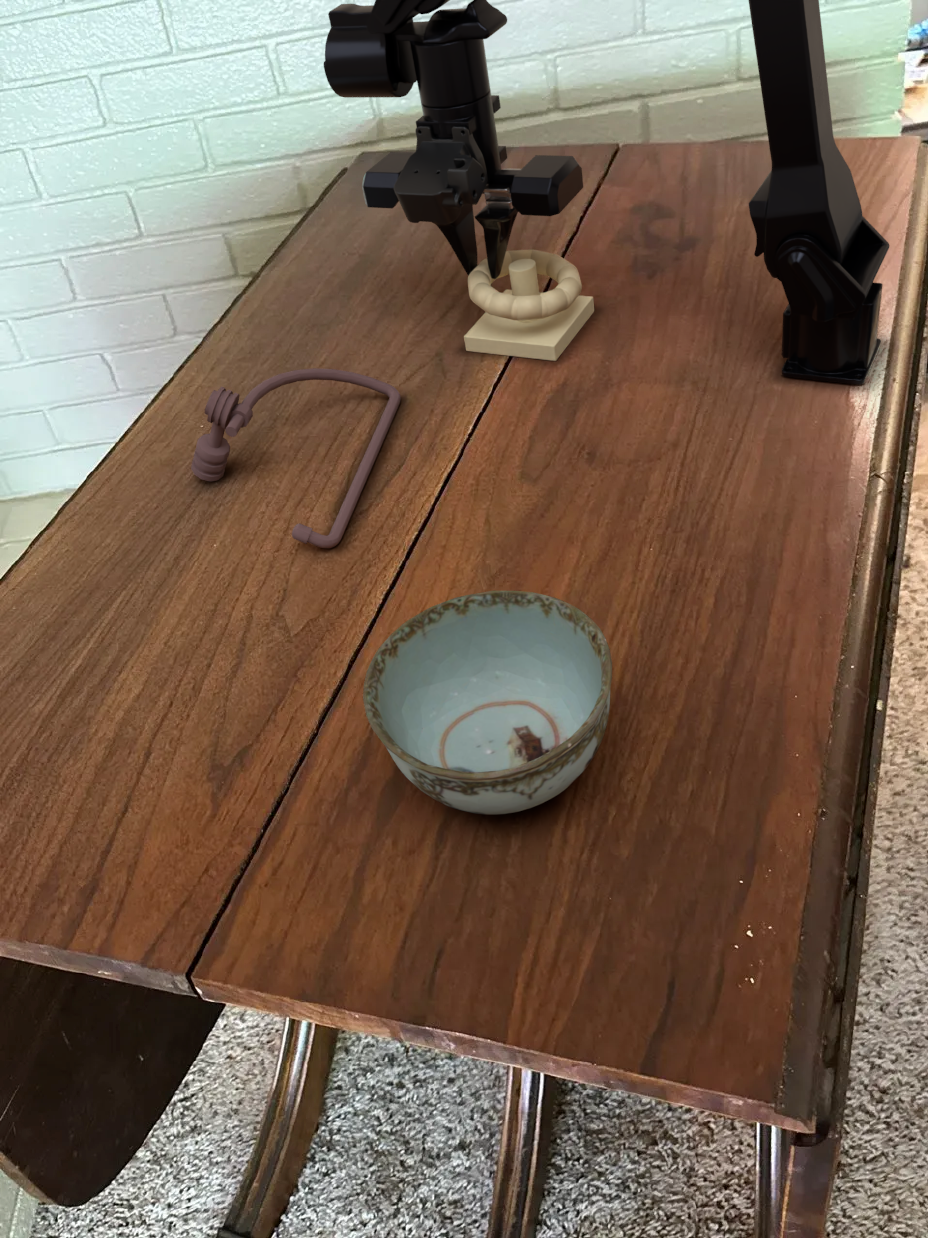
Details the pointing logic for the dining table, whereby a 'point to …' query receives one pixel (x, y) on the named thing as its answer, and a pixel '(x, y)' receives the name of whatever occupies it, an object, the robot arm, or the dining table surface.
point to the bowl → (492, 699)
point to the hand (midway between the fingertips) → (484, 275)
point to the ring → (526, 305)
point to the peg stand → (528, 323)
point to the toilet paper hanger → (235, 416)
